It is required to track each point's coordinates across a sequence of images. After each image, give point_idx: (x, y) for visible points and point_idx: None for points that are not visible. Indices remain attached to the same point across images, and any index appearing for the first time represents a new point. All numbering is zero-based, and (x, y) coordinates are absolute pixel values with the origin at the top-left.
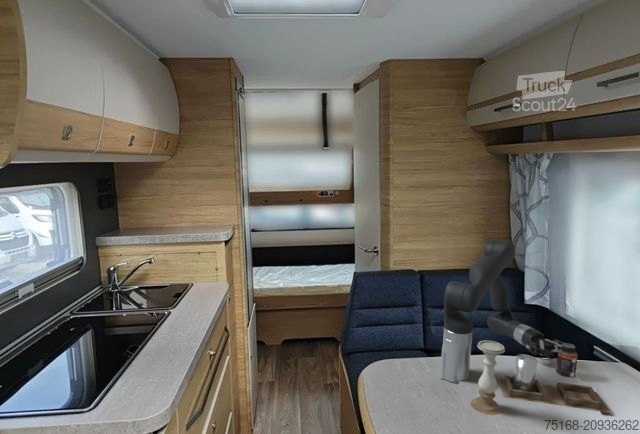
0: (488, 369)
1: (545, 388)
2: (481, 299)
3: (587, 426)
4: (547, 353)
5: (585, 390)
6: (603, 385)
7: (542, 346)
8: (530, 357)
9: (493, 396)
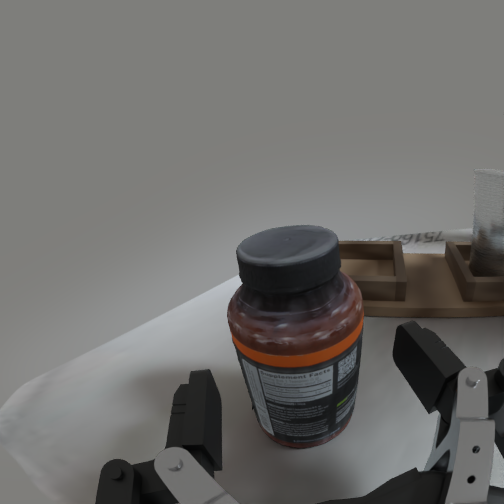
0: None
1: (439, 293)
2: None
3: (375, 239)
4: (437, 339)
5: None
6: (197, 350)
7: (468, 418)
8: (493, 173)
9: None
